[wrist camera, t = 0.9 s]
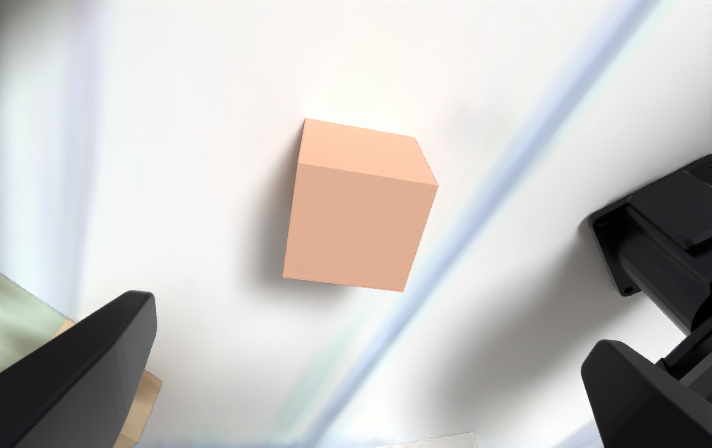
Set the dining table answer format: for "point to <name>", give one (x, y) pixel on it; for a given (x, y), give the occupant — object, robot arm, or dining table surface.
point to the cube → (357, 207)
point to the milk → (441, 442)
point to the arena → (41, 324)
